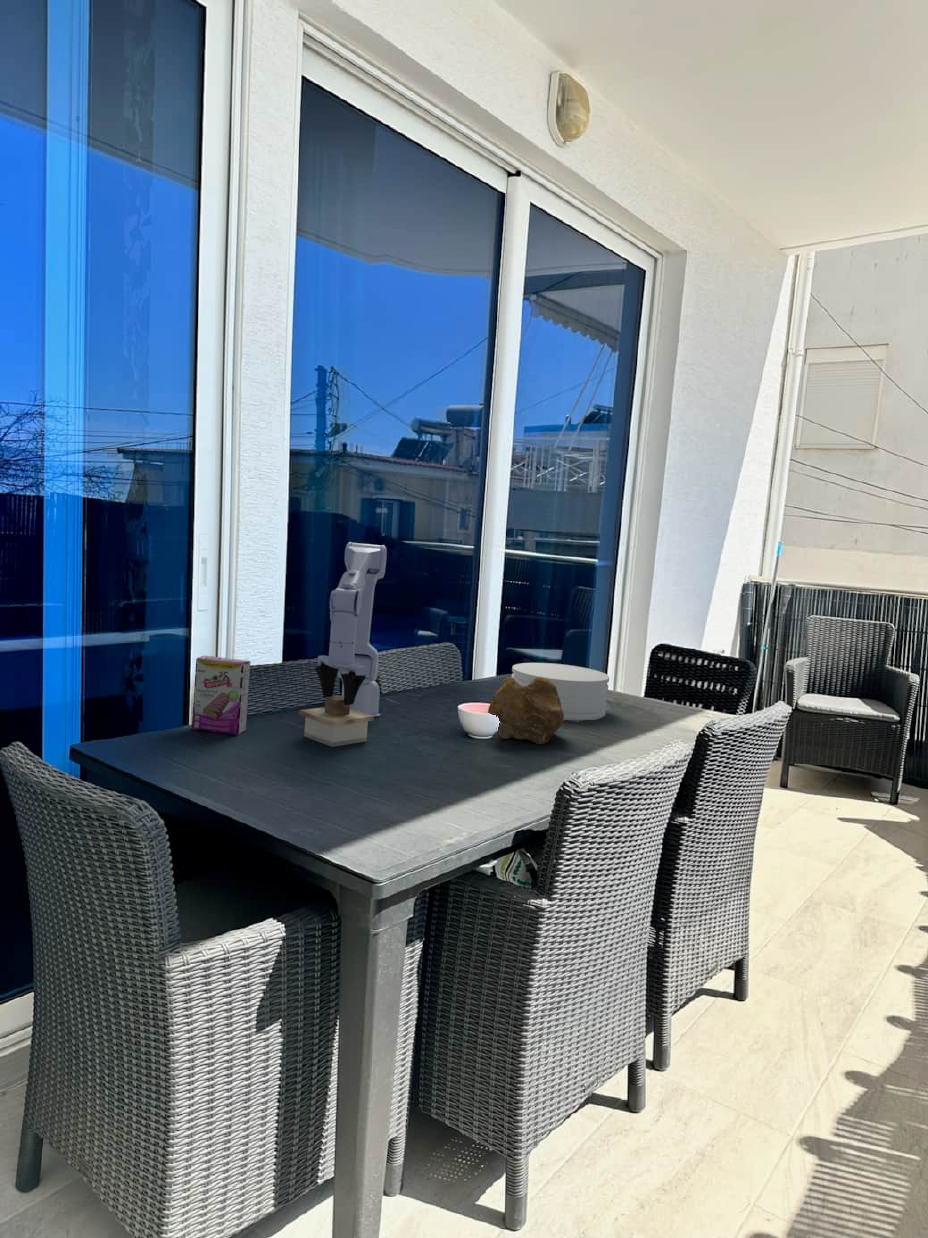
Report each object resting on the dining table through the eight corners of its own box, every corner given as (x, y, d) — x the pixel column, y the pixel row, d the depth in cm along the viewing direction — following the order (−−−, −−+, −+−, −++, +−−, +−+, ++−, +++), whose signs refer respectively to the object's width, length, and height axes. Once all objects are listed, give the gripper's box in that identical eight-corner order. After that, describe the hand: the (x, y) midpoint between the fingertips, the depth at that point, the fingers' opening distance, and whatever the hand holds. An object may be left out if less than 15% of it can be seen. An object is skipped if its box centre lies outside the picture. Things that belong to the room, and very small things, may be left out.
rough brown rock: (530, 756, 204) (542, 694, 202) (474, 734, 214) (485, 675, 212) (581, 745, 222) (592, 688, 220) (527, 725, 232) (538, 671, 230)
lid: (340, 709, 208) (342, 690, 208) (373, 720, 200) (375, 701, 200) (299, 714, 200) (300, 695, 199) (332, 726, 191) (333, 706, 191)
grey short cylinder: (492, 699, 262) (496, 662, 261) (572, 699, 274) (576, 663, 273) (538, 722, 237) (542, 681, 236) (624, 721, 249) (628, 681, 248)
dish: (338, 731, 208) (340, 710, 207) (366, 741, 201) (368, 719, 200) (304, 736, 200) (305, 714, 200) (331, 746, 194) (333, 724, 193)
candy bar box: (190, 730, 197) (194, 658, 195) (199, 725, 202) (203, 654, 200) (239, 735, 196) (243, 663, 194) (246, 730, 201) (251, 659, 199)
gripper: (308, 637, 200) (304, 696, 201) (349, 647, 190) (344, 709, 192) (333, 636, 205) (328, 693, 207) (374, 646, 195) (369, 706, 197)
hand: (338, 701), depth 200 cm, fingers open, 7 cm apart
